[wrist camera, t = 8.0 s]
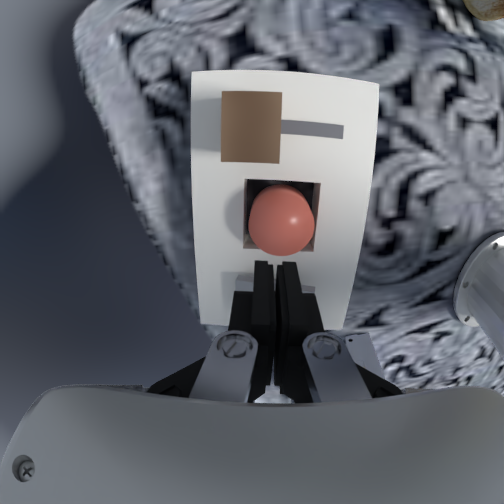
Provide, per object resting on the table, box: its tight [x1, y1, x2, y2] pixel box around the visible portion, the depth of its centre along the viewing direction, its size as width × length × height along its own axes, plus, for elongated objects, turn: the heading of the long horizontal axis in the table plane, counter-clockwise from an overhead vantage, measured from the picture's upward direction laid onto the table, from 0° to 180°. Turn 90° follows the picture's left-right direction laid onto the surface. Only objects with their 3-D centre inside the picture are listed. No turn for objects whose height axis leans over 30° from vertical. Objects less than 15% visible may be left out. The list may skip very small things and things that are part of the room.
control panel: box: [191, 70, 379, 330], centre depth 22 cm, size 13×21×4 cm, turn 179°
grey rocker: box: [235, 275, 315, 294], centre depth 22 cm, size 6×4×1 cm, turn 89°
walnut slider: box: [221, 91, 282, 164], centre depth 16 cm, size 3×4×4 cm
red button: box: [249, 184, 315, 256], centre depth 21 cm, size 4×4×3 cm
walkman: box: [346, 333, 385, 379], centre depth 26 cm, size 8×3×12 cm, turn 13°
